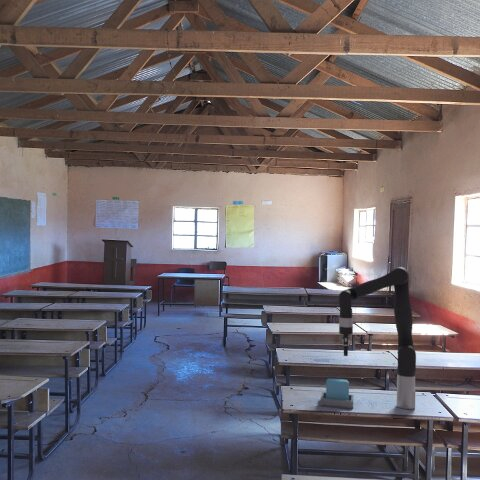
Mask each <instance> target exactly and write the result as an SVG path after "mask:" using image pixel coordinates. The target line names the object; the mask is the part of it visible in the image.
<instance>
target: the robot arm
mask: <svg viewBox="0 0 480 480" xmlns="http://www.w3.org/2000/svg"><path fill="white" fill-rule="evenodd" d="M409 280H410V274H409V271H408V270H407V268H405V267H403V266H398V267H395V268H393V270H391V271H390V272H388V273H387V274H385V275H383V276H380V277H377V278H374V279H371V280H366V281H365V282H362V283H360V284H358V285H356V286H353V287H350V288H348V289H344V290H342V291H341V292H340V293H339V295H338V304H339V321H338V324H339V325H338V327H339V328H338V334H339V335H343V336H342V338H341V340H342V346H343V347H342V349H343V356H344V357H348V355H349V351H348V350H349V346H350V336H351V335H353V333H354V332H353V331H354V330H353V329H354V321H353V307H352V301H354V300H356V299H359V298H364V297H366V296H369V295H371V294H373V293H376V292H378V291H381V290H384V289H385V288H389V287H392V286H393V288H394V302H393V315H394V323H395V327H396V331H397V369H396V407H398V408H399V409H404V410H412V409H413V410H415V409H416V371H417V370H416V369H417V365H416V364H417V352H416V349H415V347H414V341H413V309H412V302H411V298H410V291H409V287H410V286H409V283H410V281H409Z"/></svg>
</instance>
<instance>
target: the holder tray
mask: <svg viewBox="0 0 480 480" xmlns="http://www.w3.org/2000/svg"><path fill="white" fill-rule="evenodd" d="M319 403H320V407H327V408H337V409H348V410H353V409H354V394H349V401H347V400H337V399H326V391H325V392H324V391H322V392H321V395H320V402H319Z"/></svg>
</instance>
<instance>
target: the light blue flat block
mask: <svg viewBox="0 0 480 480" xmlns="http://www.w3.org/2000/svg"><path fill="white" fill-rule="evenodd" d="M325 392H326V399H337V400H347V401H349V395H350V382H349V381H348V379H341V378H327V379H326V384H325Z"/></svg>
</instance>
